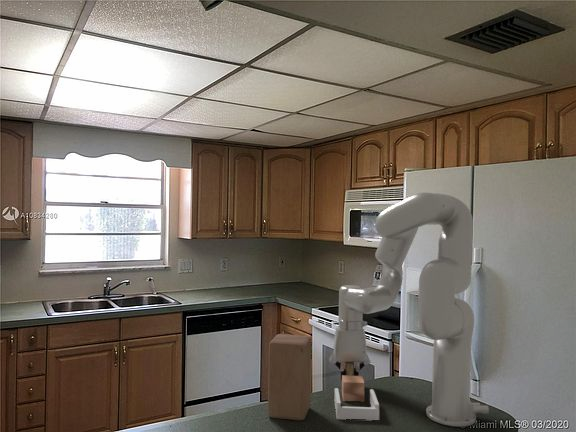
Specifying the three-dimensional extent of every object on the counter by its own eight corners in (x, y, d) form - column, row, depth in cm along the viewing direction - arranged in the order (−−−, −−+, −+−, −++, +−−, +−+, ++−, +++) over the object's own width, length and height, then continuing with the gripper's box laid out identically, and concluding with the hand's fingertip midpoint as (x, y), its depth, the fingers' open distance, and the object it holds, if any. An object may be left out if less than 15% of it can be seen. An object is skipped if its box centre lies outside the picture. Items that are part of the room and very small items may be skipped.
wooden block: (304, 422, 121) (306, 344, 121) (266, 418, 123) (268, 341, 123) (310, 407, 131) (312, 335, 131) (275, 403, 133) (276, 332, 133)
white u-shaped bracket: (373, 403, 134) (373, 389, 134) (379, 420, 123) (379, 405, 123) (334, 402, 135) (334, 388, 135) (336, 419, 123) (336, 403, 123)
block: (358, 383, 151) (358, 361, 151) (364, 402, 135) (364, 377, 135) (339, 382, 151) (340, 360, 151) (343, 401, 136) (343, 377, 136)
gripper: (374, 323, 153) (373, 379, 153) (324, 321, 154) (323, 378, 154) (378, 328, 146) (377, 388, 145) (325, 326, 146) (324, 386, 146)
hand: (349, 382), depth 149 cm, fingers closed on block, 2 cm apart
